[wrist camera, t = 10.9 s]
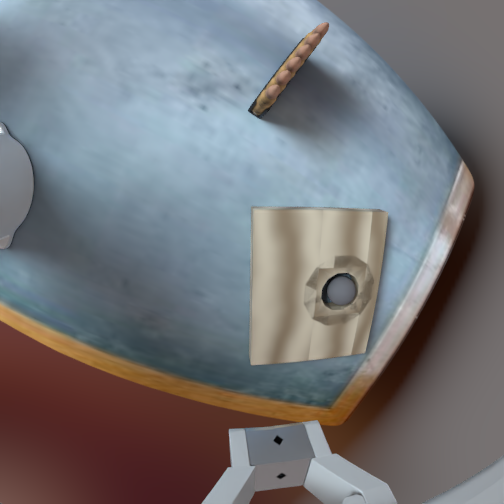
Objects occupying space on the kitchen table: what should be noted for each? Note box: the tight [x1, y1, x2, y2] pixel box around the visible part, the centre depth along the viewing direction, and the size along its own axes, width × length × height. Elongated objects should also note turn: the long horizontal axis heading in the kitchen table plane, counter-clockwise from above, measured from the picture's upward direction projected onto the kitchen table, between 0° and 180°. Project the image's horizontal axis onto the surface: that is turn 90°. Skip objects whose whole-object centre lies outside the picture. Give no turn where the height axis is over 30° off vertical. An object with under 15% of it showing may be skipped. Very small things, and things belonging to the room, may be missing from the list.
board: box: [249, 207, 388, 365], centre depth 41 cm, size 18×22×2 cm
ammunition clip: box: [248, 22, 329, 119], centre depth 28 cm, size 11×2×12 cm, turn 146°
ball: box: [327, 276, 356, 305], centre depth 41 cm, size 4×4×4 cm
